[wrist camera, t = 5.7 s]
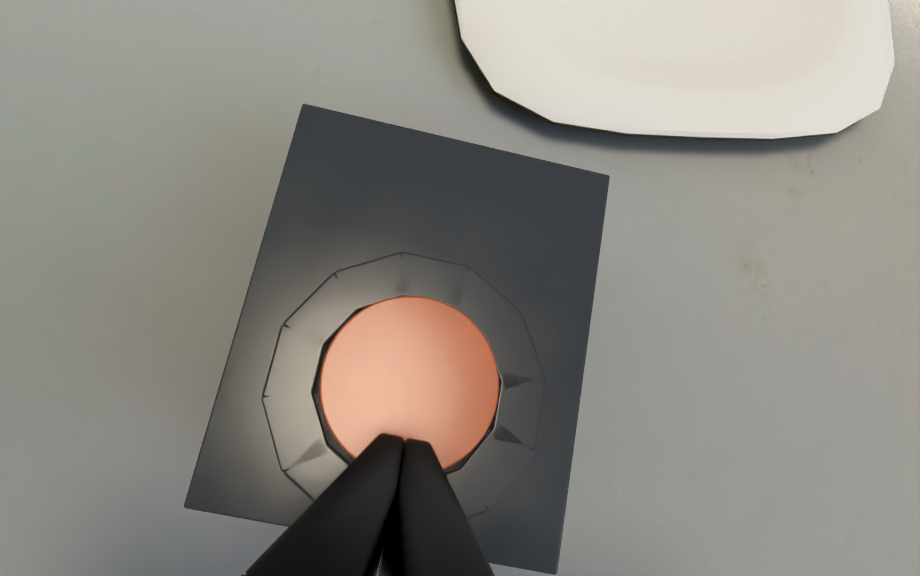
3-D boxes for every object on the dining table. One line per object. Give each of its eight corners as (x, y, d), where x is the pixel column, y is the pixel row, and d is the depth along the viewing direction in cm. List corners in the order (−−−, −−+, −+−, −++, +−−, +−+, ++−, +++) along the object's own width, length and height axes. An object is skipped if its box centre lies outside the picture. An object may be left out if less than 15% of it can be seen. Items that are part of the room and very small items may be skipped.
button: (469, 483, 14) (482, 493, 12) (311, 453, 14) (298, 458, 12) (496, 329, 15) (512, 315, 13) (349, 297, 15) (343, 278, 13)
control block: (509, 532, 21) (579, 595, 13) (242, 482, 20) (154, 520, 13) (555, 236, 24) (633, 149, 16) (324, 184, 23) (292, 67, 16)
